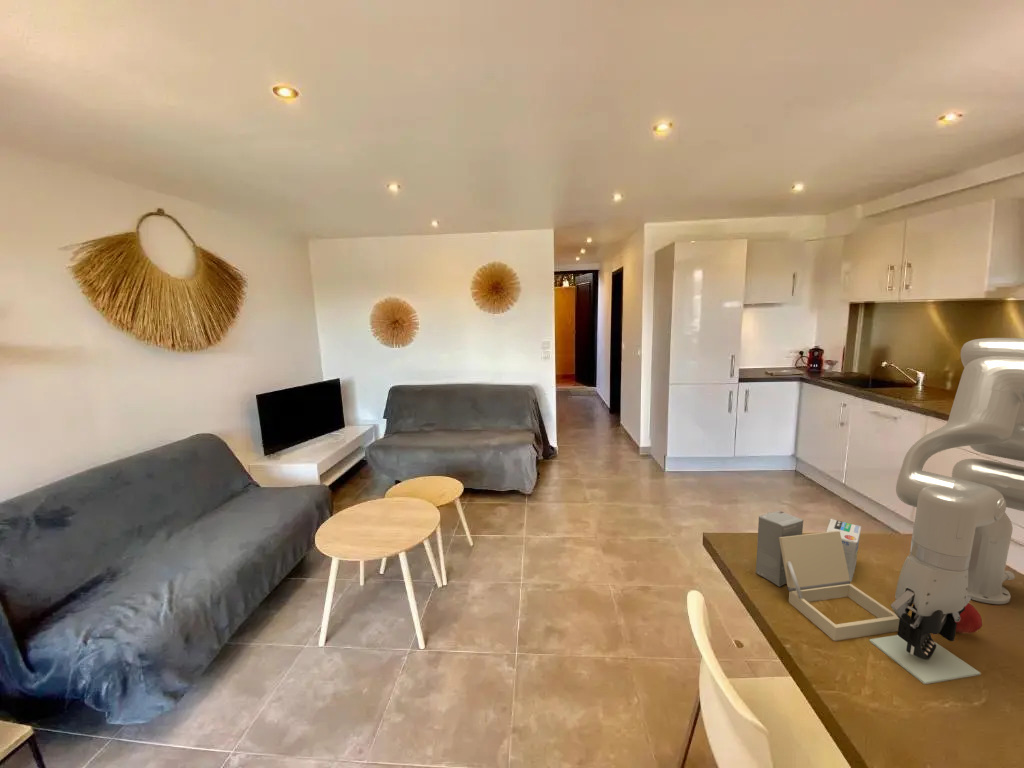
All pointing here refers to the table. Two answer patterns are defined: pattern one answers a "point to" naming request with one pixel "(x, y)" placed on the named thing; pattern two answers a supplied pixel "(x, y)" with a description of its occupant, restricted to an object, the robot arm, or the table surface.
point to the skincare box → (774, 544)
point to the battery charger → (927, 634)
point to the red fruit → (969, 620)
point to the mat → (925, 661)
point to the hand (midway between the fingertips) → (925, 637)
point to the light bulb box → (847, 541)
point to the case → (828, 585)
